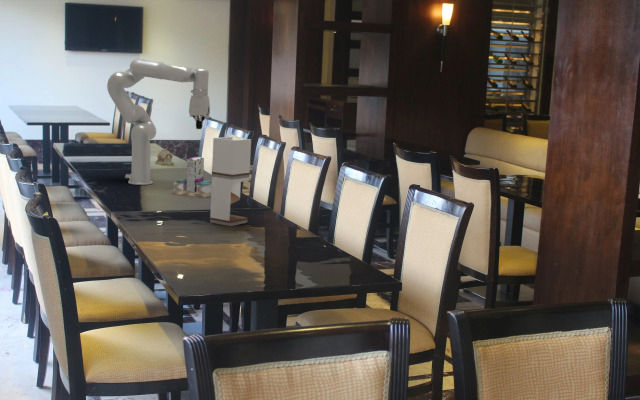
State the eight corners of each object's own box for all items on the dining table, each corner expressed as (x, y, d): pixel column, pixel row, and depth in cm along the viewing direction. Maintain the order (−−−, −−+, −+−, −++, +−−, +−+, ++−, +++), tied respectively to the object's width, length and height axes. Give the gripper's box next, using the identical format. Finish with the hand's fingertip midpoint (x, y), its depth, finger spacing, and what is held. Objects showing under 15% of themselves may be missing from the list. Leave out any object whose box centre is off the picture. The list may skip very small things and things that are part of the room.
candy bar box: (194, 188, 405) (195, 156, 402) (203, 189, 404) (204, 157, 401) (185, 191, 394) (186, 158, 392) (195, 192, 393) (196, 159, 391)
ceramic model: (152, 163, 507) (152, 147, 506) (168, 162, 514) (168, 147, 512) (162, 166, 496) (162, 150, 495) (178, 165, 503) (178, 149, 501)
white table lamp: (230, 226, 326) (234, 140, 320) (210, 222, 331) (213, 137, 326) (247, 222, 336) (251, 139, 330) (227, 218, 341) (230, 136, 335)
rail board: (172, 193, 395) (172, 180, 394) (185, 190, 409) (185, 177, 408) (205, 197, 390) (205, 184, 389) (217, 194, 403) (218, 181, 402)
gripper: (183, 92, 409) (182, 128, 412) (210, 94, 405) (208, 130, 408) (190, 92, 416) (189, 127, 419) (216, 94, 412) (215, 129, 415)
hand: (199, 128), depth 413 cm, fingers closed
